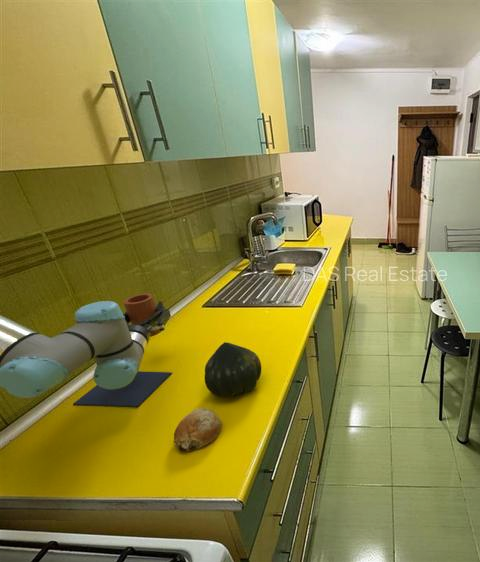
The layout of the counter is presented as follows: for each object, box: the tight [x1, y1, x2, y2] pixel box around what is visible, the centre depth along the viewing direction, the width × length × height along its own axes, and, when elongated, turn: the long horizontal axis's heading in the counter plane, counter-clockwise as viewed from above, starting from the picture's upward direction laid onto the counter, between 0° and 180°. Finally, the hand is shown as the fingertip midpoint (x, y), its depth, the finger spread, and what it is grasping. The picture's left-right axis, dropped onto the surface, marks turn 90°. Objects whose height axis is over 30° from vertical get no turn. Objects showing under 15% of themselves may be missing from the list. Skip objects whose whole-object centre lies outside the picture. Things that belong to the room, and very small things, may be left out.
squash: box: [204, 341, 263, 398], centre depth 88 cm, size 14×15×15 cm
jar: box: [122, 293, 163, 338], centre depth 96 cm, size 7×7×12 cm
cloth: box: [72, 370, 173, 408], centre depth 90 cm, size 19×14×1 cm
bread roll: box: [173, 407, 223, 452], centre depth 74 cm, size 10×10×8 cm
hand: (146, 307), depth 100 cm, fingers closed on jar, 7 cm apart
